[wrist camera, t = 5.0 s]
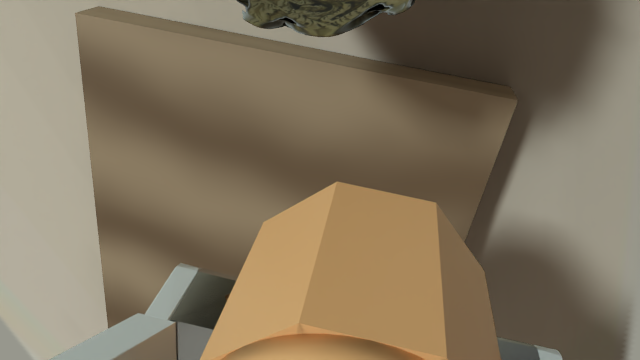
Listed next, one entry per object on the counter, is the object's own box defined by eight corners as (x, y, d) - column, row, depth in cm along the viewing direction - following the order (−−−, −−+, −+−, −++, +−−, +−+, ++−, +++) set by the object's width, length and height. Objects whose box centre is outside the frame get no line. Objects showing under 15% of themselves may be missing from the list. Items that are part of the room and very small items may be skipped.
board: (98, 6, 19) (75, 13, 17) (510, 86, 17) (518, 100, 16) (126, 352, 29) (112, 372, 27) (389, 417, 27) (388, 442, 26)
